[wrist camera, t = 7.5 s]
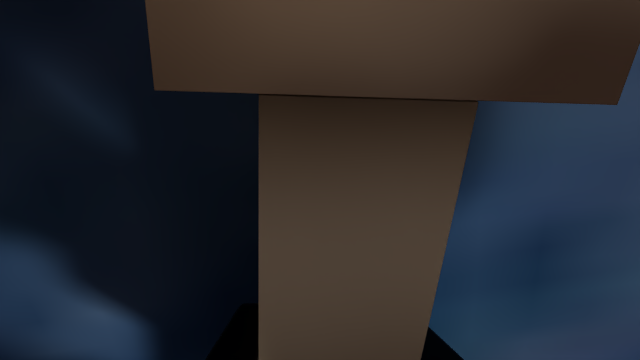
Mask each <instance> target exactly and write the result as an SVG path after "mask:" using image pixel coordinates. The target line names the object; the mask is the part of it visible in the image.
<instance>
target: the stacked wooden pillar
mask: <svg viewBox="0 0 640 360" xmlns="http://www.w3.org/2000/svg"><path fill="white" fill-rule="evenodd" d="M145 5H146V14H147V24H148V34H149V43H150V53H151V62H152V72H153V82H154V90H162V91H194V92H225V93H257V94H259V360H421V356H422V352H423V347H424V343H425V338H426V334H427V329H428V325H429V320H430V316H431V311H432V307H433V303H434V298H435V294H436V289H437V285H438V280H439V276H440V271H441V267H442V262H443V258H444V253H445V249H446V245H447V240H448V236H449V231H450V227H451V222H452V218H453V213H454V209H455V204H456V200H457V196H458V191H459V187H460V182H461V178H462V173H463V169H464V164H465V160H466V155H467V151H468V146H469V142H470V138H471V133H472V129H473V124H474V120H475V115H476V111H477V106H478V102H477V101H476V100H478V101H509V102H541V103H572V104H604V105H617V104H618V101H619V98H620V96H621V93H622V90H623V87H624V85H625V82H626V79H627V77H628V74H629V71H630V68H631V66H632V63H633V60H634V57H635V55H636V52H637V49H638V46H639V44H640V0H145Z"/></svg>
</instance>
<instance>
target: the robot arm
mask: <svg viewBox="0 0 640 360" xmlns="http://www.w3.org/2000/svg"><path fill="white" fill-rule="evenodd" d="M205 360H259V303H244V304H241V305H240V306H239V308H238V309H237V311H236V312H235V314H234V315H233V317H232V318H231V320H230V322H229V323H228V325H227V326H226V328H225V329H224V331H223V333H222V334H221V336H220V337H219V339H218V340H217V342H216V343H215V345H214V347H213V348H212V350H211V351H210V353H209V354H208V356H207V358H206V359H205ZM421 360H464V359H463V358H462V357H460V356H459V355H458V354H457V353H456V352H455V351H454V350H453V349H452V348H451V347H450V346H449V345H448V344H447V343H445V342H444V341H443V340H442V339H441V338H440V337H439V336H438V335H437V334H436V333H435V332H434V331H433V330H431V329H430V328H429V327H428V329H427V334H426V338H425V343H424V347H423V352H422V356H421Z"/></svg>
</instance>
